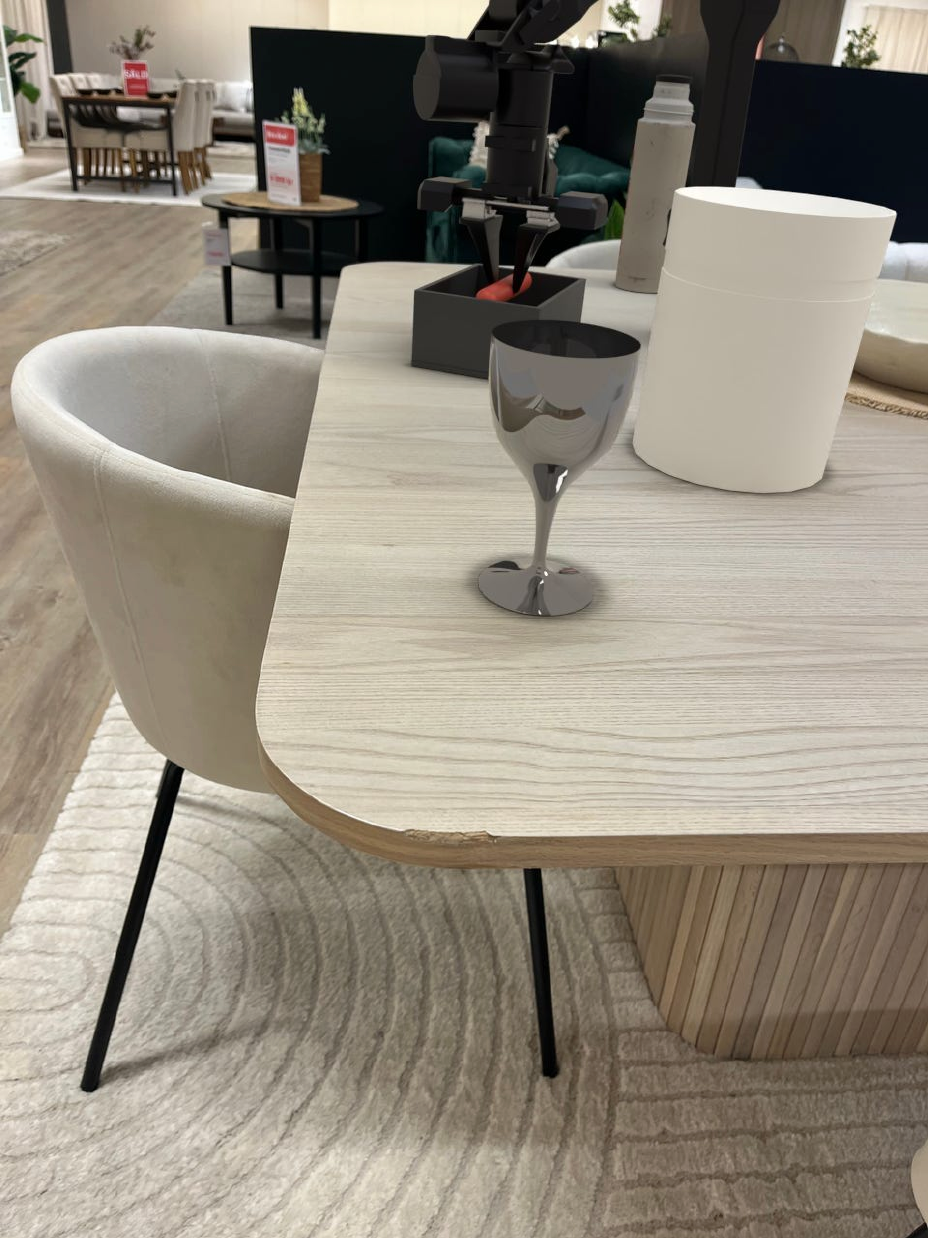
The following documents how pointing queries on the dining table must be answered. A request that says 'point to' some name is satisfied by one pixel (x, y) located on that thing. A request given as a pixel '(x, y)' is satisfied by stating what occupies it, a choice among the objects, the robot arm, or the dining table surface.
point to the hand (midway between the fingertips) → (504, 290)
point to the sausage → (503, 289)
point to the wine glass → (554, 438)
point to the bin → (482, 316)
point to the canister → (756, 334)
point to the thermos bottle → (655, 182)
